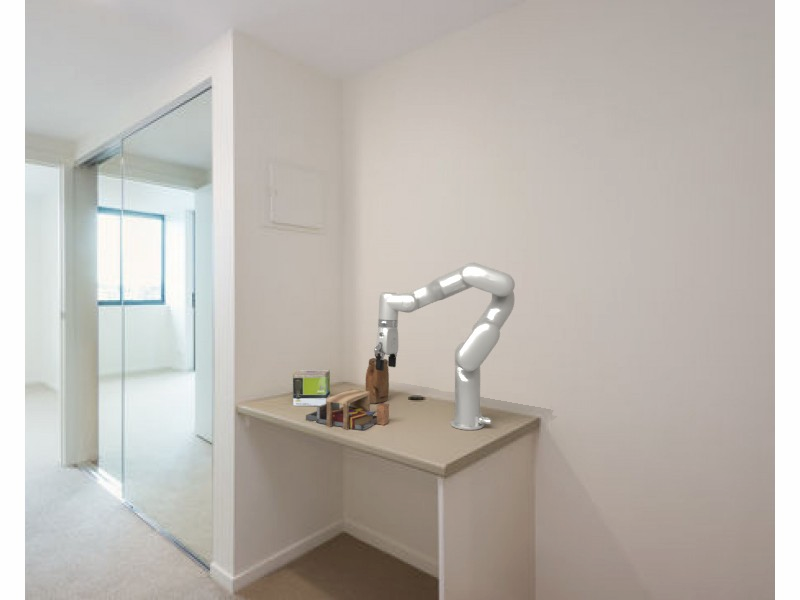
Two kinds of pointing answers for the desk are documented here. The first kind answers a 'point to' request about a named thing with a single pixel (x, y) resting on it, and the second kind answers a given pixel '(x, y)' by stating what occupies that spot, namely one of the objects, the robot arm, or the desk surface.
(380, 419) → the tray
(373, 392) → the block
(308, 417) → the gray frame
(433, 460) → the desk surface
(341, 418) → the decorative book
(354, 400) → the wooden arch stand
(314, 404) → the tea box
